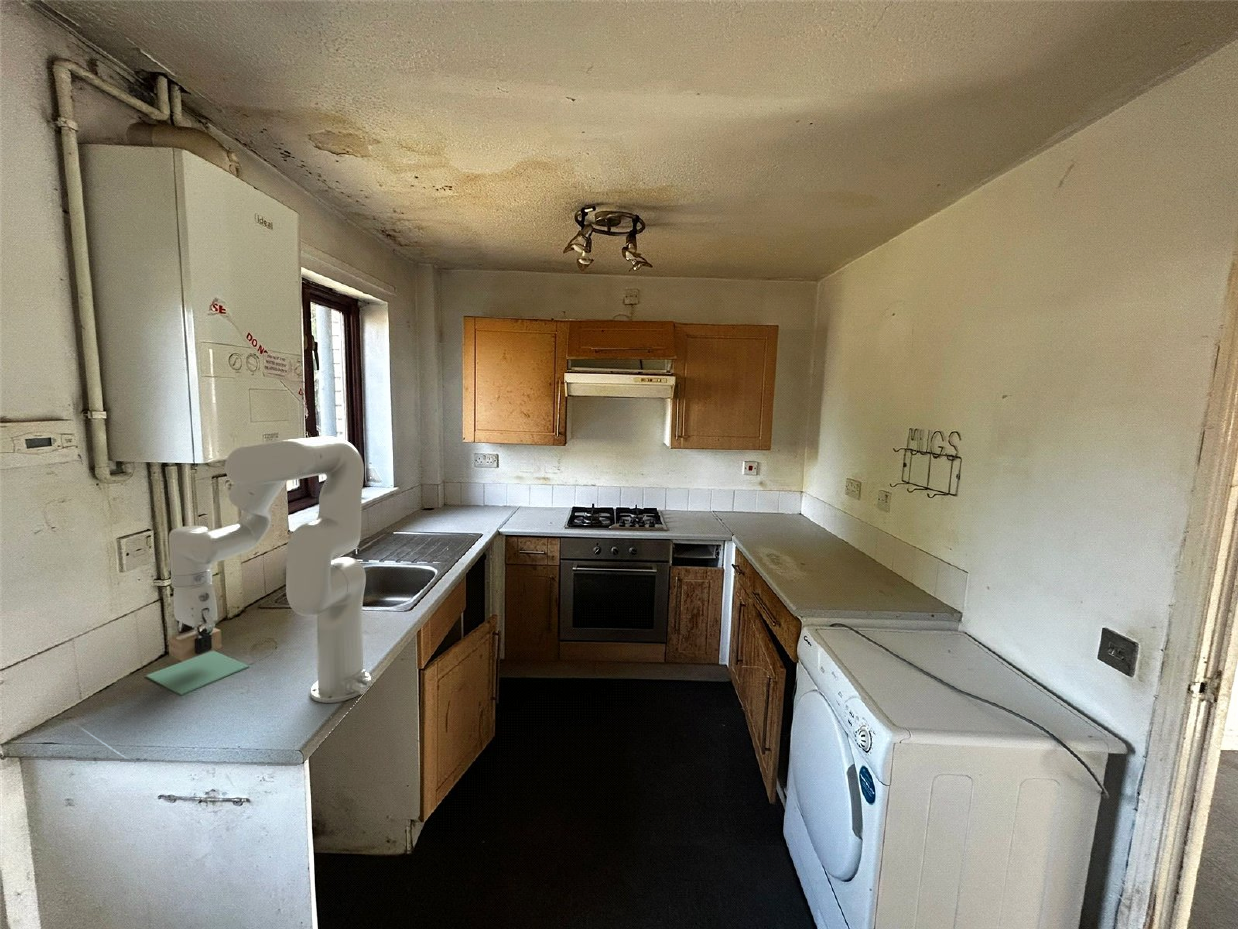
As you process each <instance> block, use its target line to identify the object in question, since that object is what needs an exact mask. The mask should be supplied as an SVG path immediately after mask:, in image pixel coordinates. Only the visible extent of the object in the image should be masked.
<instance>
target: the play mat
mask: <svg viewBox="0 0 1238 929" xmlns="http://www.w3.org/2000/svg"><path fill="white" fill-rule="evenodd" d="M249 667H250V665H248V664H246V663H243V662H241V661H239V660H236V659H234V658H231V657H229V656H227V655H225V654H222V653H220V652H217V651H216V650H213V651H210V652H208V653H205V654H202V655H199V656H197V657H194V658H191V659H189V660H186V661H181V662H178V663H175V664H173V665H170V666H167V667H164V668H162V669H160V670H155V671H153V672H151V673H149V674H146V675H145V677H146V678H147V679H149V680H151V681H154V682H155V683H157V684H160V685H161V686H163V687H165V688H166V689H169V690H171V691H172V692H175V693H177V694H178V695H181V696H184V695H186V694H188V693H191V692H193V691H196V690H197V689H201V688H203V687H206V686H207V685H209V684H213V683H214V682H217V681H219V680H221V679H224V678H227V677H229V676H232V675H233V674H236V673H238V672H241V671H243V670H246V669H249Z"/></svg>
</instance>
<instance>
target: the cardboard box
mask: <svg viewBox="0 0 1238 929" xmlns="http://www.w3.org/2000/svg"><path fill="white" fill-rule="evenodd" d="M199 628H200V632H201V631H202V629H204V628H205V626H202V627H199ZM195 638H197V637H196V633H195V630H194V629H193V630H190V631H187V632H184V633H180V634H179V633H178V634H175V635H172V636H169V637H168V651H169V656H170V657H173V658H175V659H177V660H179V661H181V662H183V661H186V660H189V659H191V658H194V657H197V656H200V655H202V654H205V653H208V652H210V651H216V650H219V649H221V648H222V647H223V646H222V643H223V642H222V631H221V629H218V628H216V627H214V628H213V631H212V635H211V640H212V649H211V650H209V651H206V652H203V653H200V654H196V653H195Z"/></svg>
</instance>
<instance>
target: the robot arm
mask: <svg viewBox="0 0 1238 929" xmlns="http://www.w3.org/2000/svg"><path fill="white" fill-rule="evenodd" d="M224 470H225V473H226V476H227V478H228V479H229V480H230V481H231V482H233V483H234V484H233V485H232V487H231V488H230V490H229V492H228V499H229V501H230V503H231V504H232V505H233V506H234V507H236V508H237V509H239V510H240V511H242V512H243V513H242V514H241V516H240V517H239V519H238V520H237V521H236V522H235V523H233V524H229V525H226V526H222V527H218V528H215V529H209V528H208V527H207V526H205V525H186V526H185V525H184V526H180V527H177V528H174V529H172V530H170V532H169V533H168V534H169V535H168V545H169V546H168V547H169V550H168V551H169V566H170V578H171V580H170V581H171V582H170V583H171V588H173V598H172V599H173V615H174V618H175V620H176V622H177V623H178V628H177V629H178V631H179V633H178V634H180V633H184V632H187V631H190V630H193V629H194V630H195V633H196V637H197V638H195V653H196V654H200V653H203V652H206V651H209V650H211V649H212V640H211V635H212V631H213V628H216V623H215V622H216V621H217V620H218V607H217V598H216V595H215V589H214V588H215V587H214V585H213V583H212V582H213V565H212V564H215V563H218V562H221V561H224V560H227V559H229V558H233V557H236V556H238V555H242V554H244V553H247V552H249V551H252V550H253V548H255V547H256V546H257V545H258V544H259V543H260V541H261V540H262V539H263V538H264V536H265V535H266V533H268V530H269V528H270V527H271V525H272V524H271V523H272V509H271V505H272V504H273V503H274V501H275V500H276V498H277V496H278V495H279V494H280V493H281V491H282V489H283V488H284V486H285V485H286V484H287V482H288V481H294V480H301V479H305V478H311V477H316V476H320V475H325V477H326V478H325V481H324V483H323V484H322V486H321V489H320V493H319V497H318V513H317V517H316V519H314V520H312V521H308V522H305V523H303V524H301V525H300V526H298V527H297V528H296V529H294V530H293V532H292V533H291V535H290V536H289V539H288V542H287V546H286V562H285V563H286V564H285V566H286V567H285V568H286V569H285V570H286V573H285V575H286V576H285V578H286V579H285V586H286V587H285V592H286V593H285V594H286V598H287V602H288V604H289V606H290V608H291V609H292V610H293V611H294V613H296V614H297V615H300V616H303V617H312V616H316V618H315V635H316V636H315V638H316V640H315V641H316V664H317V666H316V667H317V681H315V683H313V684H312V685H311V688H310V692H309V693H310V698H312V700H314V701H316V702H319V703H323V704H324V703H325V704H331V703H339V702H340V703H341V702H344V701H348V700H351V699H353V698H355V697H357V696H359V695H363V694H365V693H366V692H367V690H368V689H369V688H370V686H371V685H372V683H373V681H372V678H371V675H370V673H368V672H367V671H366V669H364V636H363V604H364V603H363V602H364V594H365V588H366V579H367V576H366V575H367V574H366V571H365V567H364V566H363V564H362V563H361V562H360V561H359V560H357V559H355V558H353V557H349V556H344V555H347V554H349V553H351V552H353V551H354V550H355V549H356V548H357V547H358V546H359V544H360V542H361V536H362V534H361V533H362V509H363V506H362V504H363V503H362V498H363V497H362V496H363V488H364V487H363V485H364V479H365V478H364V476H365V467H364V462H363V458H362V456H361V454H360V452H359V451H358V449H357V448H356V447H355V446H354V445H353V444H352V443H351V442H349V441H347V440H345V439H344V438H339V437H336V436H315V437H305V438H303V437H302V438H294V439H284V440H277V441H273V442H265V443H258V444H250V445H249V444H248V445H243V446H239V447H237V448H235V449H233V451H231V452H230V453H229V455H227V457H226V460H225V464H224ZM342 556H343V557H342ZM201 622H203V623H201ZM199 623H200V624H199ZM202 626H205V628H204V629H202V631H201V632H200V628H199V627H202Z"/></svg>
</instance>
